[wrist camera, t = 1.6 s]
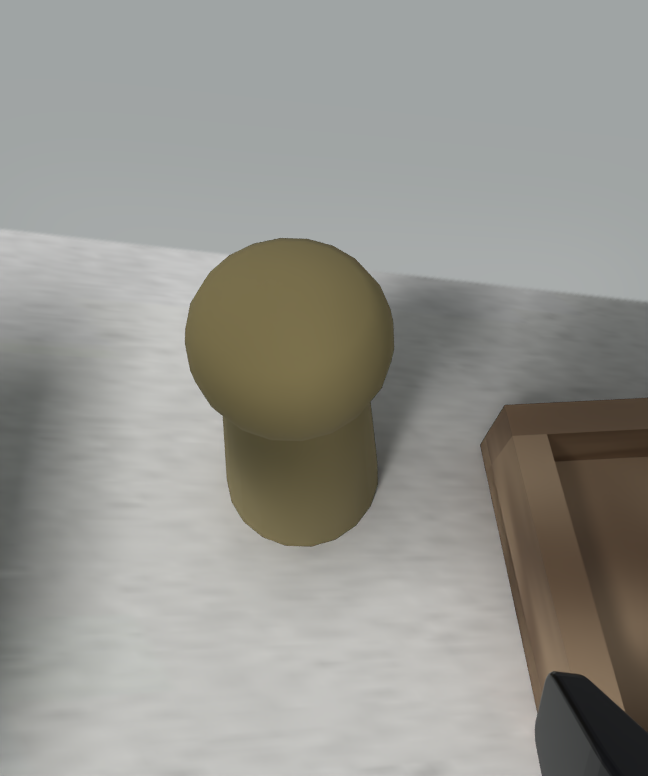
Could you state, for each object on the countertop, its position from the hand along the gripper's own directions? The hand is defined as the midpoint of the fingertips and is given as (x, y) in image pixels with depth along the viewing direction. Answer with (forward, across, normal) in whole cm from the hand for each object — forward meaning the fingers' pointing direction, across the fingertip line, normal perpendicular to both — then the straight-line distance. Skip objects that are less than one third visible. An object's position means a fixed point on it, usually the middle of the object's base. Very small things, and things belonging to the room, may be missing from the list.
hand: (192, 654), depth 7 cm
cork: (+14, 0, +4) cm, 15 cm away
